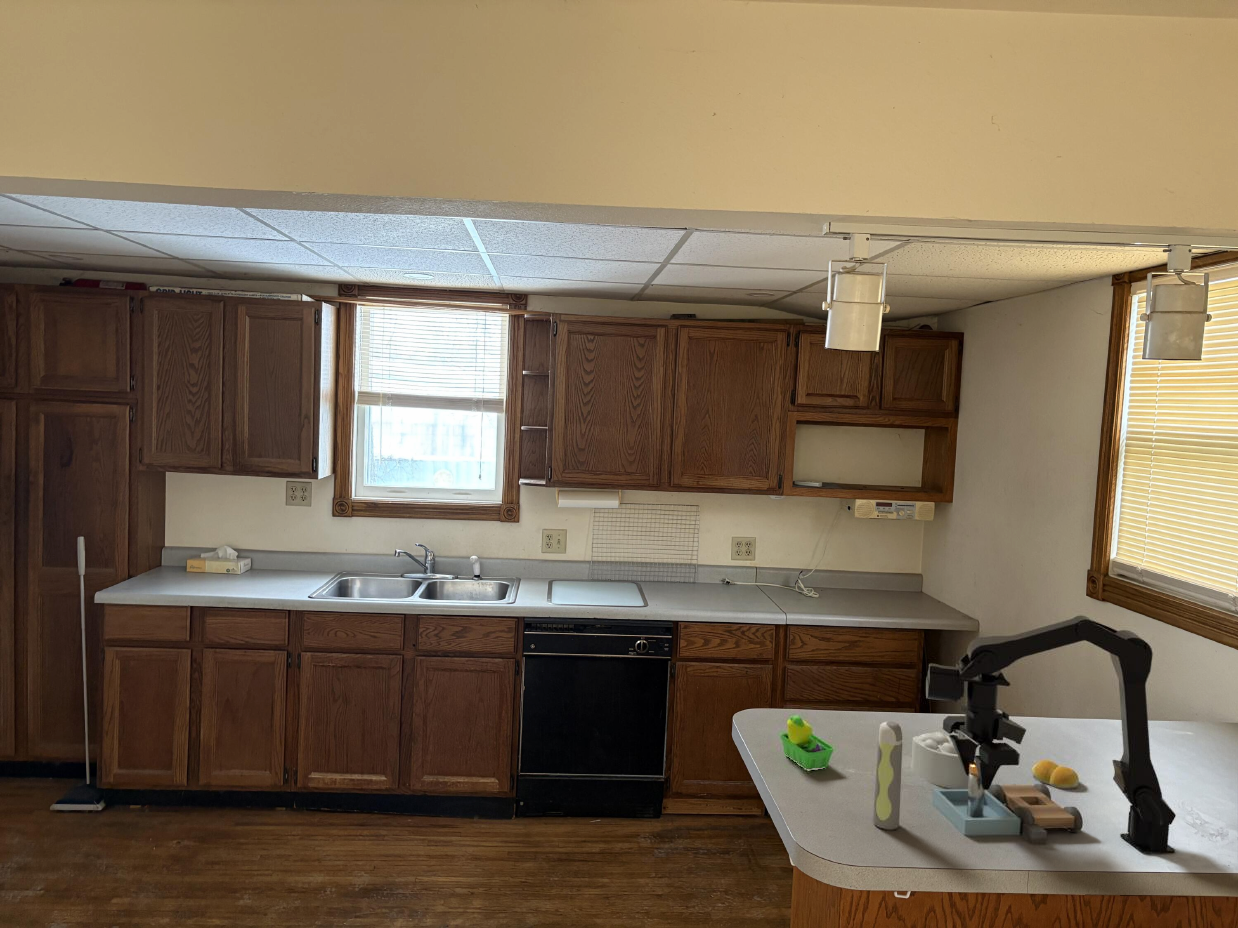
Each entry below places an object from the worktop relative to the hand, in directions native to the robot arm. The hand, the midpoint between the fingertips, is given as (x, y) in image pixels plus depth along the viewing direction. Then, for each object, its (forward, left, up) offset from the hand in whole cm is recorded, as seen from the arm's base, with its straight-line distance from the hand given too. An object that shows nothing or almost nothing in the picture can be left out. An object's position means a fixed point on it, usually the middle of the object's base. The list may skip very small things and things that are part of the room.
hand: (976, 781), depth 166 cm
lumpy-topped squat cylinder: (+19, -3, -8) cm, 21 cm away
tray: (0, 0, -7) cm, 7 cm away
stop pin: (0, 0, -7) cm, 7 cm away
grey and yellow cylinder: (-2, +19, -8) cm, 21 cm away
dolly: (-1, -12, -7) cm, 14 cm away
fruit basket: (+27, +26, -8) cm, 38 cm away
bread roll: (+17, -28, -8) cm, 33 cm away
